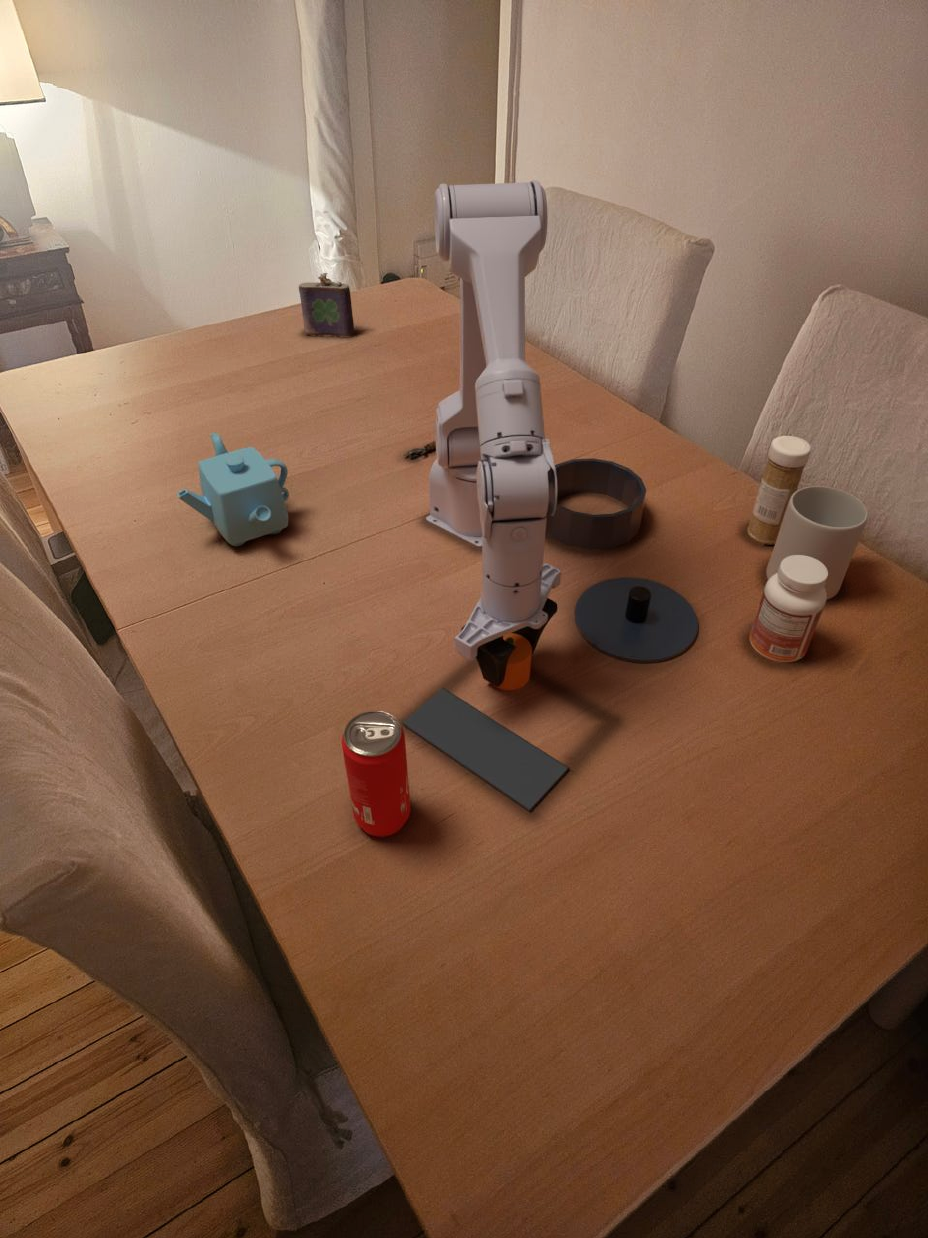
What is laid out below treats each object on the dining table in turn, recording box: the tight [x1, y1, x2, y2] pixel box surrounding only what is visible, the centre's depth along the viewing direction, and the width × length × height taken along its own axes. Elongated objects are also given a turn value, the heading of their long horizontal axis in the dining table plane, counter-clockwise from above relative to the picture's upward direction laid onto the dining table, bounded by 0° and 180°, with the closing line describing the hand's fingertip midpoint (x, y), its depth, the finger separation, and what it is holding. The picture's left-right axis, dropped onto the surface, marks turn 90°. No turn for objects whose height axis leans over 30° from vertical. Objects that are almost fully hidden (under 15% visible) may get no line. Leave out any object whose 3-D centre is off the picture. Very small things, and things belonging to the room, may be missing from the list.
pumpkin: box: [491, 633, 532, 691], centre depth 86 cm, size 5×5×5 cm
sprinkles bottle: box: [746, 435, 812, 546], centre depth 101 cm, size 5×5×13 cm
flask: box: [298, 272, 355, 338], centre depth 147 cm, size 9×3×11 cm, turn 84°
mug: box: [765, 485, 869, 601], centre depth 96 cm, size 12×8×11 cm
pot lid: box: [574, 576, 699, 664], centre depth 92 cm, size 14×14×5 cm
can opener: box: [403, 440, 436, 459], centre depth 121 cm, size 9×2×1 cm, turn 123°
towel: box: [402, 687, 570, 812], centre depth 83 cm, size 16×14×1 cm
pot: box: [546, 457, 647, 551], centre depth 106 cm, size 13×13×6 cm
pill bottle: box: [749, 555, 828, 663], centre depth 87 cm, size 6×6×11 cm
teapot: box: [175, 432, 290, 547], centre depth 104 cm, size 18×14×10 cm
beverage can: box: [341, 710, 411, 838], centre depth 71 cm, size 5×5×12 cm
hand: (507, 667), depth 87 cm, fingers closed on pumpkin, 4 cm apart
